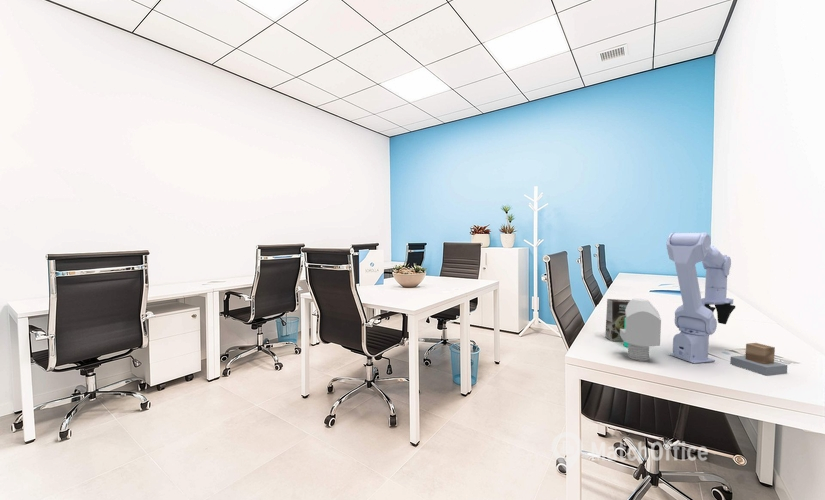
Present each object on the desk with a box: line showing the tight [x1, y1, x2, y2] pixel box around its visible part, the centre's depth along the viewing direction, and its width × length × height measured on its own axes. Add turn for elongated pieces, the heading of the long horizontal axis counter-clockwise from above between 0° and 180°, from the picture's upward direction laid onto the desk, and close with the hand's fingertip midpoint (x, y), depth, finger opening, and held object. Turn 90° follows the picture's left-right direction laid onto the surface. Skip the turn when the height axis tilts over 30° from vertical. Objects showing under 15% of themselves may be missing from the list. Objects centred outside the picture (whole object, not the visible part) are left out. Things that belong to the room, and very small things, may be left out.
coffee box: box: [604, 298, 632, 343], centre depth 129 cm, size 9×6×16 cm
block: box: [745, 342, 776, 364], centre depth 101 cm, size 4×4×5 cm
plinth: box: [729, 354, 788, 376], centre depth 101 cm, size 9×9×2 cm
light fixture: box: [620, 298, 662, 362], centre depth 109 cm, size 9×9×20 cm
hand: (714, 324), depth 117 cm, fingers open, 7 cm apart
